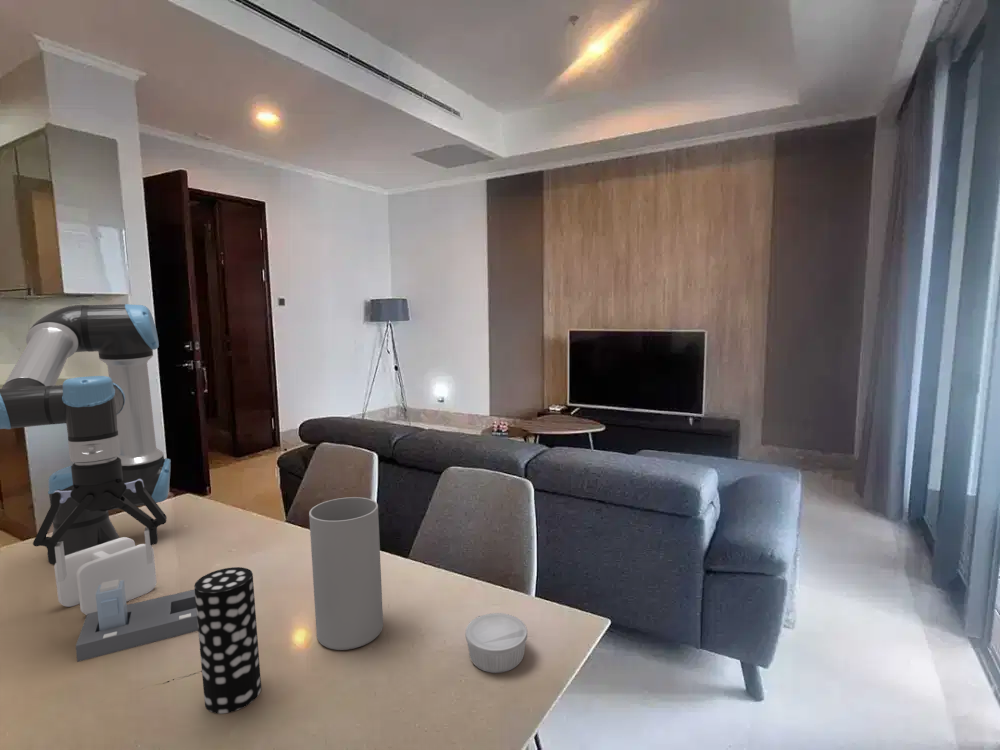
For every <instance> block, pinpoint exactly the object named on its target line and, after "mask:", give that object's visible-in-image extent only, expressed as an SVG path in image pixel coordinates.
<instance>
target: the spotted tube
mask: <svg viewBox="0 0 1000 750" xmlns="http://www.w3.org/2000/svg"><path fill="white" fill-rule="evenodd" d="M193 587H194V589H195V599H196V611H197V622H198V631H197V632H198V643H199V650H200V651H199V653H200V663H201V675H202V687H203V699H204V708H205V709H206V710H208V712H211V713H213V714H229V713H233V712H236V711H238V710H240V709H243V708H245V707H247V706H248V705H250V704H251V703H253V702H254V701H255V700H256V699H257V698H258V696H259V695H260V694H261V691H262V679H261V677H262V676H261V668H260V666H261V665H260V655H259V653H260V652H259V651H260V650H259V642H258V641H259V640H258V627H257V613H256V602H255V601H256V599H255V590H254V589H255V587H254V573H253V571H252V570H251V569H249V568H246V567H241V566H239V567H237V566H235V567H226V568H225V567H224V568H221V569H218V570H214V571H211V572H209V573H207V574H205V575H202V576H201V577H200V578H199V579H198V580H196V581H195V583H194V586H193Z"/></svg>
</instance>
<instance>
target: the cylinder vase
mask: <svg viewBox="0 0 1000 750" xmlns="http://www.w3.org/2000/svg"><path fill="white" fill-rule="evenodd" d="M308 514H309V515H308V517H309V531H310V532H309V533H310V547H311V548H310V549H311V551H310V552H311V563H312V564H311V566H312V582H313V583H312V584H313V585H312V586H313V596H314V614H315V615H314V616H315V630H316V638H317V641H318V642H319V643H320V644H321V645H322V646H323V647H326V648H327V649H329V650H335V651H336V650H338V651H345V650H348V651H349V650H352V649H357V648H360V647H363V646H365V645H368V644H369V643H371V642H372V641H374V640H375V639H376V638H377V637H378V636H379V635H380V634H381V632H382V630H383V627H384V614H383V612H384V611H383V610H384V608H383V593H382V592H383V590H382V586H383V585H382V571H381V569H382V568H381V545H380V544H381V543H380V525H379V520H380V519H379V504H378V502H376V501H375V500H374V499H370V498H368V497H359V496H358V497H357V496H352V497H341V498H334V499H330V500H329V499H328V500H326V501H323V502H320V503H318V504H317V505H315V506H312V508H311V509H309V512H308Z"/></svg>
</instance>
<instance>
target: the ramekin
mask: <svg viewBox="0 0 1000 750" xmlns="http://www.w3.org/2000/svg"><path fill="white" fill-rule="evenodd" d="M464 635H465V640H466V642H467V648H468V652H469V653H468V654H469V658H470V660H471V662H472V663H473V664H474V666H475V667H477V668H478V669H479V670H480V671H484V672H487V673H491V674H500V673H506V672H509V671H512V670H513V669H515V668H516V667H517V666H518V665H519V664H520V663H521V662H522V660H523V658H524V656H525V649H526V642H527V640H528V635H529V634H528V628H527V626H526V624H525V623H524V622H523V620H521V619H520V618H518V617H516V616H514V615H512V614H509V613H501V612H493V613H487V614H482V615H480V616H478V617H475V618H474V619H472V620H471V621H470V622H469V623H468V624H467V626H466V628H465V634H464Z"/></svg>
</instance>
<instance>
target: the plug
mask: <svg viewBox="0 0 1000 750" xmlns="http://www.w3.org/2000/svg"><path fill="white" fill-rule="evenodd" d="M96 603H97V611H98V620H99V629H100V631H103V630H107V629H111V628H115V627H119V626H123V625H128V624H129V623H128V614H127V605H128V604H127V602H126V595H125V585H124V580H122V581H120V579H118V580H113V581H108V582H104V583H102V584H101V585H99V586H98V589H97V592H96Z"/></svg>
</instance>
